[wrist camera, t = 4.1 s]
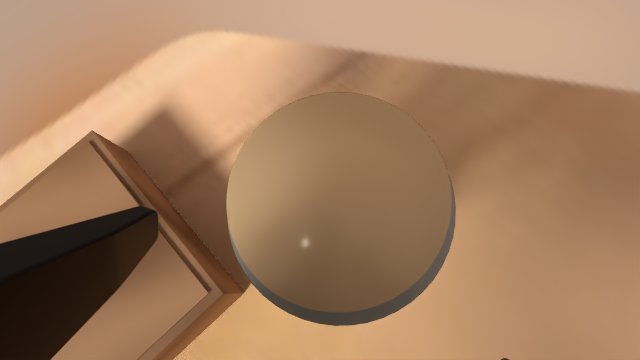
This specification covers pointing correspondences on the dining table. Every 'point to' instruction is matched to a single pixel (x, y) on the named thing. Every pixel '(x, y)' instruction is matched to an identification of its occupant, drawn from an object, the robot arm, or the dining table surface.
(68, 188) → the walnut block
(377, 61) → the dining table surface
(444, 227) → the spice jar
